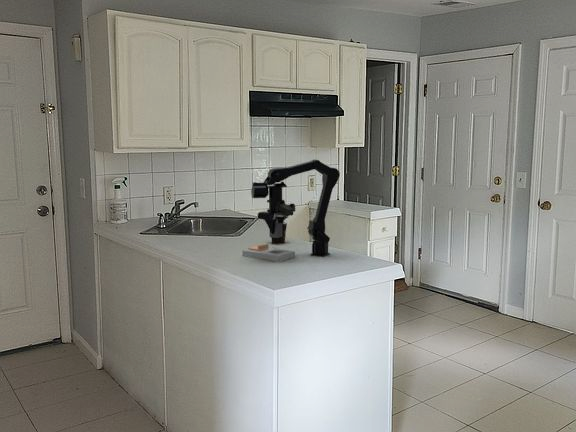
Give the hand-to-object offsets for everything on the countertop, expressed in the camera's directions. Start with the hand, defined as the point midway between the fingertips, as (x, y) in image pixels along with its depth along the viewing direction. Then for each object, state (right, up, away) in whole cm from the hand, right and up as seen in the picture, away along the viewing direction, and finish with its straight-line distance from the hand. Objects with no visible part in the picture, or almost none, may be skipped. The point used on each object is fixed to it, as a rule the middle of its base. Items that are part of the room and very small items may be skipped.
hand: (275, 233), depth 242 cm
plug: (0, -2, 0) cm, 2 cm away
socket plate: (-3, -10, +4) cm, 12 cm away
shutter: (-8, -7, +7) cm, 13 cm away
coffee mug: (0, -6, +33) cm, 34 cm away
